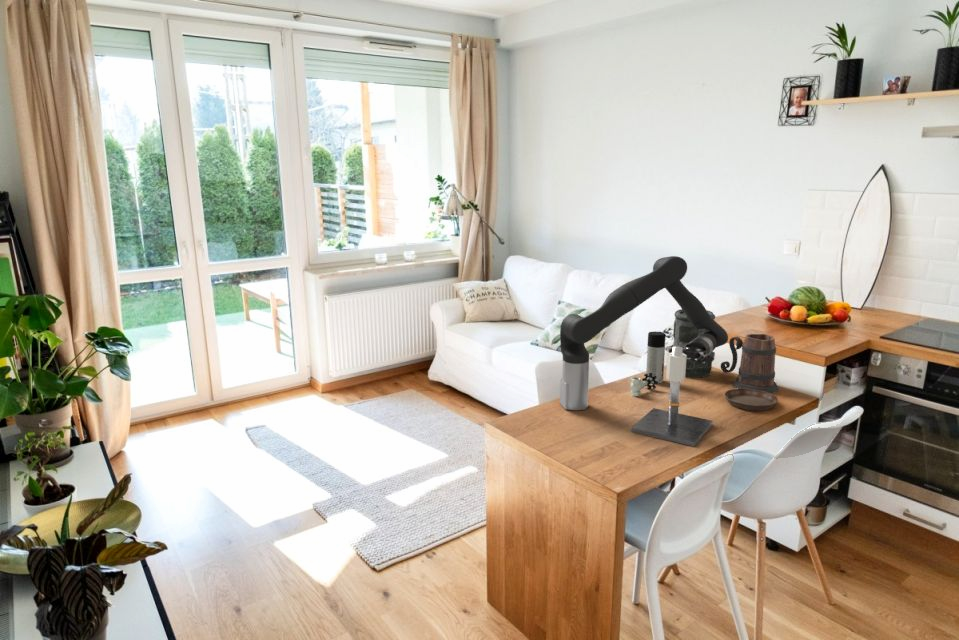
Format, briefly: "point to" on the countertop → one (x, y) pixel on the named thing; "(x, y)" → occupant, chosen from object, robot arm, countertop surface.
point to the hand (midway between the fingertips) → (684, 359)
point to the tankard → (754, 363)
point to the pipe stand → (673, 419)
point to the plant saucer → (751, 399)
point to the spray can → (656, 355)
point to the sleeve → (676, 367)
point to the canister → (683, 336)
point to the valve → (641, 384)
